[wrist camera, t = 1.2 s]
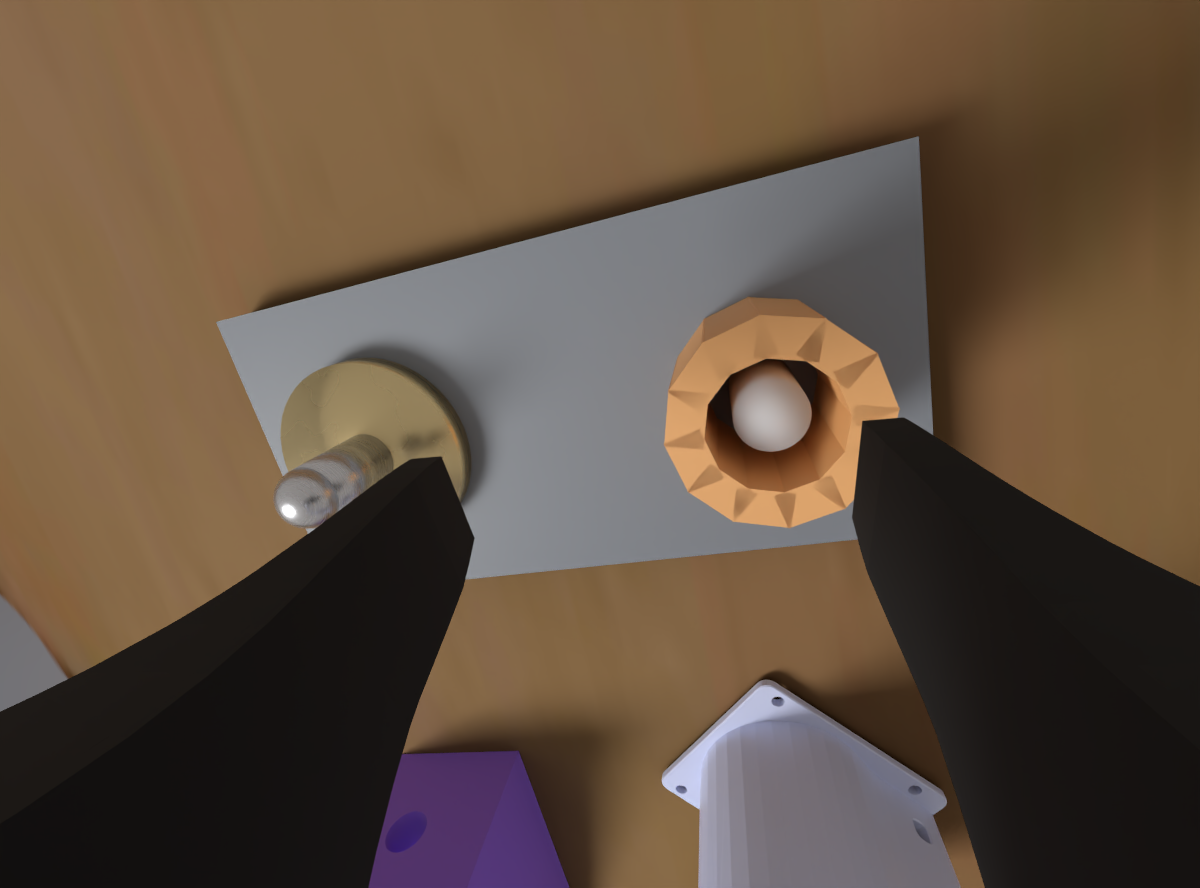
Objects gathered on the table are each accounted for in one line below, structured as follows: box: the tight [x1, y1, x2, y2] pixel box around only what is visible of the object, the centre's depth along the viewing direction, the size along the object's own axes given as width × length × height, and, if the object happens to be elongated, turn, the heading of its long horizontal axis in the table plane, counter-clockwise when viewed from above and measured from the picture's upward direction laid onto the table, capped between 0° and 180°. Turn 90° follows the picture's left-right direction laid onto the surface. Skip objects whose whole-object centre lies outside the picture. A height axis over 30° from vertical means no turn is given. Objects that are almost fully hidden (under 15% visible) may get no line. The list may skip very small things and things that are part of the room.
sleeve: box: [664, 297, 900, 528], centre depth 16 cm, size 5×5×4 cm
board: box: [216, 136, 933, 579], centre depth 19 cm, size 24×12×5 cm, turn 103°
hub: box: [274, 358, 471, 529], centre depth 19 cm, size 7×7×5 cm
